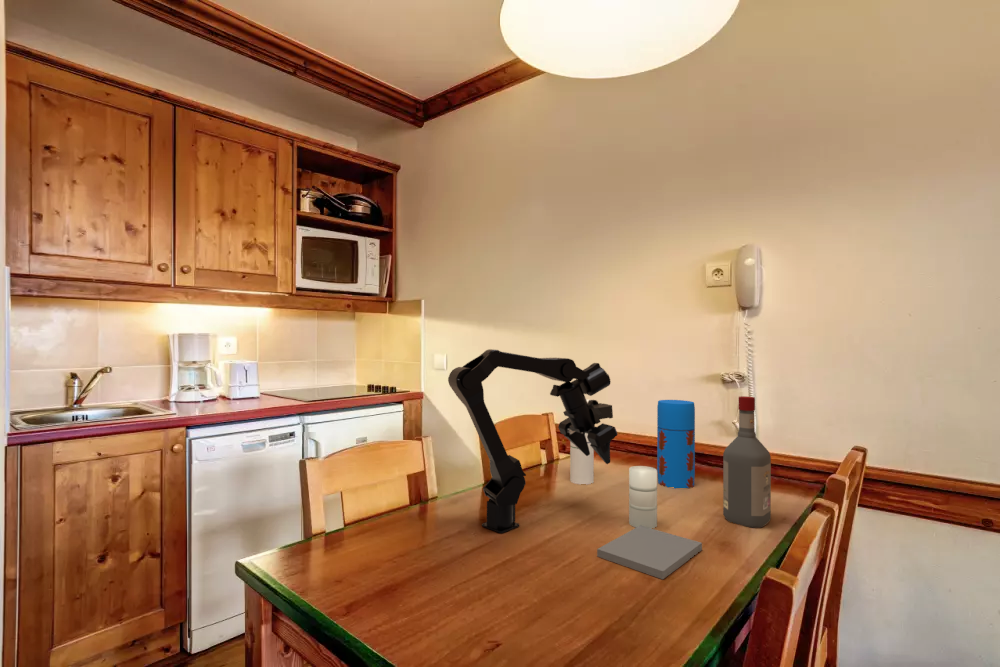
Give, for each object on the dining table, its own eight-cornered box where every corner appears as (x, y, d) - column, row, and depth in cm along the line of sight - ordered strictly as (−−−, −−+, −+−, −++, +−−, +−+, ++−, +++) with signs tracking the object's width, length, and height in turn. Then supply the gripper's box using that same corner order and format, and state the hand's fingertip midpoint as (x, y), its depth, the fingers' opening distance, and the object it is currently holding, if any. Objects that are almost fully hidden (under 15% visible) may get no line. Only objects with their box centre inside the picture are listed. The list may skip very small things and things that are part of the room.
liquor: (773, 520, 122) (773, 397, 122) (760, 530, 116) (760, 400, 116) (734, 511, 129) (734, 394, 129) (720, 520, 122) (720, 397, 123)
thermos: (649, 481, 156) (649, 400, 156) (675, 477, 160) (675, 399, 161) (675, 490, 146) (675, 404, 146) (702, 486, 150) (702, 403, 151)
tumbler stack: (649, 531, 115) (649, 474, 115) (623, 524, 119) (624, 469, 119) (661, 524, 119) (661, 469, 120) (637, 517, 124) (637, 464, 124)
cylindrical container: (593, 485, 151) (593, 402, 151) (569, 483, 152) (569, 401, 153) (593, 478, 158) (594, 399, 158) (570, 477, 159) (571, 398, 160)
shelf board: (662, 579, 92) (662, 571, 92) (597, 556, 101) (597, 548, 101) (701, 549, 105) (701, 542, 105) (640, 531, 114) (640, 525, 114)
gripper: (622, 393, 119) (645, 451, 121) (581, 386, 136) (601, 436, 139) (586, 415, 115) (610, 474, 118) (548, 405, 133) (569, 457, 135)
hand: (598, 459), depth 127 cm, fingers open, 9 cm apart
